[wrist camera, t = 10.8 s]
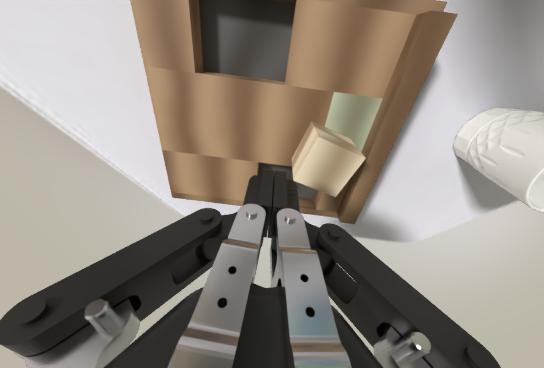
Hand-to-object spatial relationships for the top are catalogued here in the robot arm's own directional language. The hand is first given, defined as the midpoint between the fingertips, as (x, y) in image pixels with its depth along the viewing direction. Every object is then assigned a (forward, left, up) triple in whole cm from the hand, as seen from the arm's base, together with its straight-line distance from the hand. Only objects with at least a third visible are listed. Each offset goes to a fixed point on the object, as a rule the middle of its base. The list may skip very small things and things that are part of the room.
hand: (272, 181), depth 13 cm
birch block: (+4, +3, -11) cm, 12 cm away
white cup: (+13, +22, -14) cm, 29 cm away
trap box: (0, -1, -14) cm, 14 cm away
